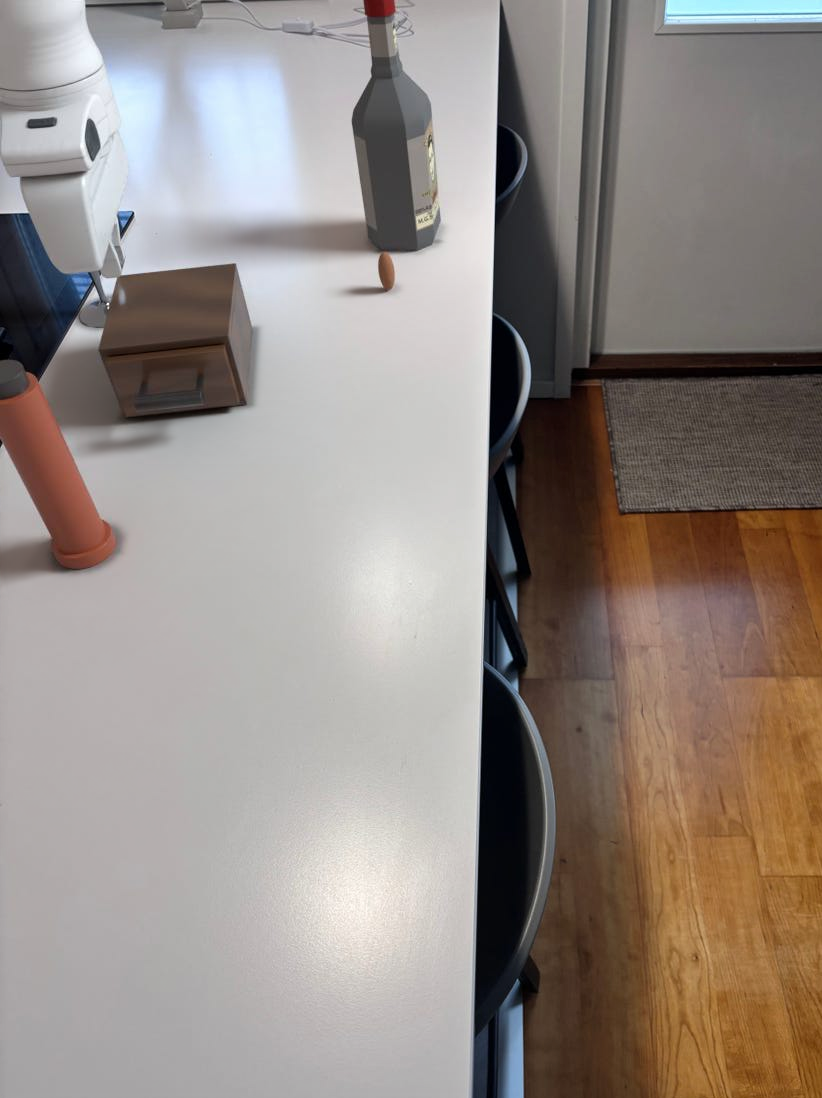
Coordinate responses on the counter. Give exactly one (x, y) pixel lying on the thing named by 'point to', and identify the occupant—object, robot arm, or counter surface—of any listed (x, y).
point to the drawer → (173, 380)
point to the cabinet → (181, 317)
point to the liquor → (395, 145)
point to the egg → (386, 271)
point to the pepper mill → (50, 471)
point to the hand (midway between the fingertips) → (115, 270)
